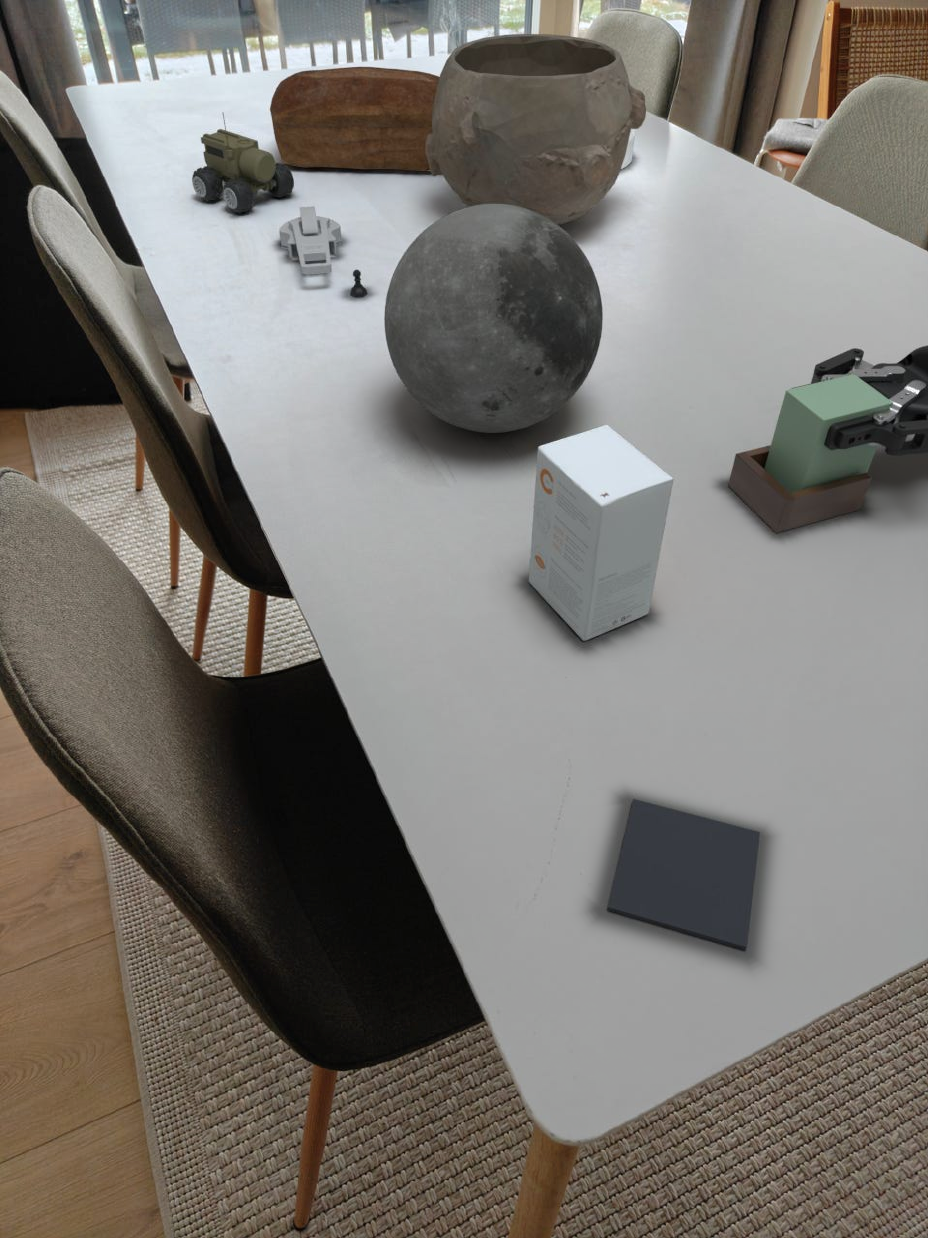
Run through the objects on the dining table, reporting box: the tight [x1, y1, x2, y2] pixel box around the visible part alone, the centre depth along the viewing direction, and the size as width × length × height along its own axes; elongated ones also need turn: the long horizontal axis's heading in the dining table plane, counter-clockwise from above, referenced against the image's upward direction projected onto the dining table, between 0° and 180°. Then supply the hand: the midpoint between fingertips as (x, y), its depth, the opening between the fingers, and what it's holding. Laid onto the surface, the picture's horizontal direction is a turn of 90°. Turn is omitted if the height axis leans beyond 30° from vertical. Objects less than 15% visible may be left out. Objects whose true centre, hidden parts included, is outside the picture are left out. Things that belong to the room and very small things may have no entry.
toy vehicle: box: [191, 113, 295, 215], centre depth 130 cm, size 10×11×12 cm
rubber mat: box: [607, 798, 760, 951], centre depth 57 cm, size 8×8×1 cm
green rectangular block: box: [765, 374, 893, 493], centre depth 80 cm, size 7×5×10 cm
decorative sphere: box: [383, 204, 604, 434], centre depth 86 cm, size 20×20×20 cm
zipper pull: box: [278, 206, 343, 275], centre depth 118 cm, size 8×18×4 cm, turn 10°
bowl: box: [426, 33, 647, 226], centre depth 122 cm, size 27×29×20 cm
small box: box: [528, 424, 674, 642], centre depth 70 cm, size 8×6×13 cm
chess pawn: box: [350, 269, 368, 298], centre depth 111 cm, size 2×2×3 cm
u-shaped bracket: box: [727, 444, 873, 534], centre depth 82 cm, size 9×7×4 cm
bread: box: [269, 66, 440, 172], centre depth 141 cm, size 14×28×12 cm, turn 86°
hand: (807, 419), depth 77 cm, fingers closed on green rectangular block, 5 cm apart
